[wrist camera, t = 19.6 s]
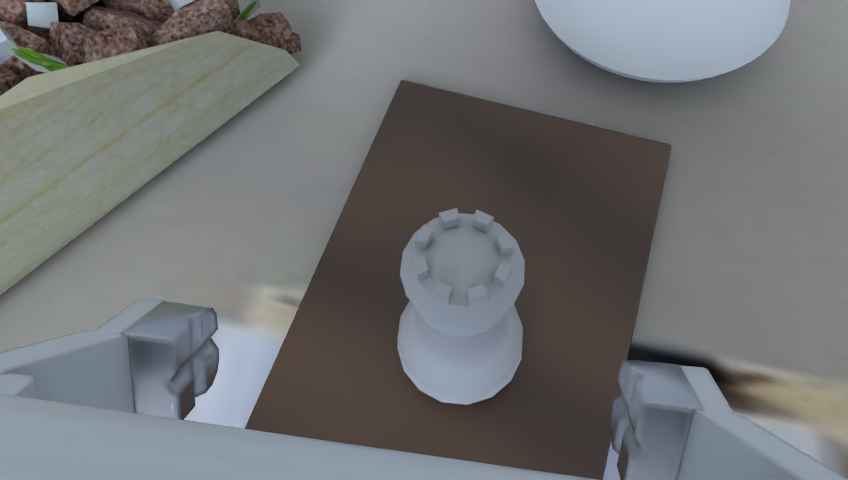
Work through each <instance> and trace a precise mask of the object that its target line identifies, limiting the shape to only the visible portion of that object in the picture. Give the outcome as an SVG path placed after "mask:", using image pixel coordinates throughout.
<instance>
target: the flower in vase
mask: <svg viewBox="0 0 848 480" xmlns="http://www.w3.org/2000/svg"><path fill="white" fill-rule="evenodd" d="M535 2H536V5H537V7H538V9H539V11H540V13H541V15H542V17H543V18H544V20H545V21H546V23H547V24H548V26H549V27H550V28H551V30H552V31H553V32H554V33H555V35H556V36H557V37H558V38H559V39H560V40H561V41H562V42H563V43H564V44H565V45H566V46H567V47H568V48H569V49H571V50H572V51H573V52H574V53H576V54H577V55H578V56H580V57H581V58H583V59H584V60H586V61H588V62H590V63H591V64H593V65H595V66H597V67H599V68H601V69H604V70H606V71H609V72H611V73H614V74H617V75H620V76H624V77H627V78H631V79H636V80H641V81H647V82H658V83H683V82H691V81H699V80H703V79H707V78H712V77H715V76H718V75H721V74H724V73H727V72H729V71H732V70H735V69H738V68H740V67H742V66H744V65H746V64H747V63H749V62H751V61H753V60H754V59H756V58H757V57H759V56H760V55H761V54H763V53H764V52H765V51H766V50H767V49H768V48H769V47H770V46H771V45H772V44H773V43H774V42H775V41H776V39H777V38H778V36H779V35H780V34H781V32H782V30H783V28H784V26H785V24H786V22H787V18H788V14H789V10H790V3H791V0H535Z"/></svg>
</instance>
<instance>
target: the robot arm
mask: <svg viewBox="0 0 848 480" xmlns="http://www.w3.org/2000/svg"><path fill="white" fill-rule="evenodd" d="M217 329H218V325H217V314H216V312H215V311H214V309H213V308H210V307H203V306H196V305H189V304H182V303H175V302H166V301H165V300H154V299H141V298H139V299H138V300H136V301H135V302H134V303H132V304H131V305H129V306H128V307H127V308H125V309H124V310H123V311H121V312H120V313H118V314H117V315H116V316H114V317H113V318H112V319H110V320H109V321H107V322H106V323H105V324H103V325H102V326H100V327H99V328H98V329H96V330H95V331H91V330H85V331H81V332H78V333H74V334H70V335H66V336H62V337H58V338H55V339H51V340H47V341H43V342H39V343H35V344H32V345H28V346H24V347H20V348H16V349H12V350H8V351H5V352H1V353H0V480H597V479H590V478H583V477H576V476H569V475H562V474H555V473H548V472H541V471H534V470H527V469H520V468H513V467H506V466H499V465H492V464H485V463H478V462H471V461H464V460H457V459H451V458H444V457H437V456H430V455H423V454H416V453H409V452H402V451H395V450H388V449H381V448H374V447H367V446H360V445H353V444H346V443H339V442H333V441H326V440H319V439H312V438H305V437H298V436H291V435H284V434H277V433H270V432H263V431H256V430H249V429H242V428H235V427H228V426H222V425H215V424H208V423H201V422H194V421H187V420H184V418H185V417H186V416H187V415H188V414H189V412H190V411H191V410H192V409H193V408H194V406H195V397H197V396H199V395H202V394H204V393H206V392H207V391H208V389H209V388H210V387H211V385H212V384H213V381H214V379H215V376H216V373H217V370H218V362H219V348H218V347H217V346H216V344H215V343H214V341H213V340H212V339H211V337H212V336H213V334H214V333H215V332H216V330H217ZM618 383H619V387H620V390H621V394H620V395H619V396H618V397H617V398H616V399H614V400H613V406H612V412H611V422H610V435H611V442H612V447H613V450H615V451H616V452H617V453H618V454H619V458H618V463H617V467H618V471H619V475H620V479H621V480H848V479H846V478H845V477H843V476H841V475H840V474H838V473H836V472H835V471H833V470H831V469H830V468H828V467H827V466H825V465H823V464H822V463H820V462H818V461H817V460H815V459H813V458H812V457H810V456H808V455H807V454H805V453H803V452H802V451H800V450H799V449H797V448H795V447H794V446H792V445H790V444H789V443H787V442H785V441H784V440H782V439H780V438H779V437H777V436H775V435H774V434H772V433H771V432H769V431H767V430H766V429H764V428H762V427H761V426H759V425H757V424H756V423H754V422H752V421H751V420H749V419H747V418H746V417H744V416H740V415H735V414H734V413H733V411H732V409H731V408H730V406H729V404H728V403H727V401H726V399H725V398H724V396H723V394H722V393H721V391H720V389H719V388H718V386H717V384H716V383H715V381H714V379H713V377H712V376H711V374H710V372H709V371H708V370H707V369H705V368H703V367H691V366H680V365H675V364H665V363H655V362H646V361H636V360H623V362H622V365H621V367H620V371H619V376H618Z"/></svg>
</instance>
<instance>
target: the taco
mask: <svg viewBox="0 0 848 480" xmlns="http://www.w3.org/2000/svg"><path fill="white" fill-rule="evenodd" d="M259 7H260V1H259V0H253V1H252V2H251V3H250V4H249V5H248V6H247V7H246V8H245V9H244V10H243V12H242V13H241V14H240V10H239V5H238V0H0V295H1V294H2V293H4V292H5V291H6V290H8V289H9V288H10V287H12V286H13V285H14V284H15V283H17V282H18V281H19V280H21V279H22V278H23V277H25V276H26V275H27V274H29V273H30V272H31V271H32V270H34V269H35V268H36V267H38V266H39V265H40V264H42V263H43V262H44V261H45V260H47V259H48V258H49V257H51V256H52V255H53V254H55V253H56V252H57V251H59V250H60V249H61V248H62V247H64V246H65V245H66V244H68V243H69V242H70V241H72V240H73V239H74V238H75V237H77V236H78V235H79V234H81V233H82V232H83V231H85V230H86V229H87V228H89V227H90V226H91V225H92V224H94V223H95V222H96V221H98V220H99V219H100V218H102V217H103V216H104V215H105V214H107V213H108V212H109V211H111V210H112V209H113V208H115V207H116V206H117V205H119V204H120V203H121V202H122V201H124V200H125V199H126V198H128V197H129V196H130V195H132V194H133V193H134V192H135V191H137V190H138V189H139V188H141V187H142V186H143V185H145V184H146V183H147V182H149V181H150V180H151V179H152V178H154V177H155V176H156V175H158V174H159V173H160V172H162V171H163V170H164V169H165V168H167V167H168V166H169V165H171V164H172V163H173V162H175V161H176V160H177V159H179V158H180V157H181V156H182V155H184V154H185V153H186V152H188V151H189V150H190V149H192V148H193V147H194V146H195V145H197V144H198V143H199V142H201V141H202V140H203V139H205V138H206V137H207V136H208V135H210V134H211V133H212V132H214V131H215V130H216V129H218V128H219V127H220V126H222V125H223V124H224V123H225V122H227V121H228V120H229V119H231V118H232V117H233V116H235V115H236V114H237V113H238V112H240V111H241V110H242V109H244V108H245V107H246V106H248V105H249V104H250V103H252V102H253V101H254V100H255V99H257V98H258V97H259V96H261V95H262V94H263V93H265V92H266V91H267V90H268V89H270V88H271V87H272V86H274V85H275V84H276V83H278V82H279V81H280V80H282V79H283V78H284V77H285V76H287V75H288V74H289V73H291V72H292V71H293V70H295V69H296V68H297V67H298V66H300V64H299V63H298V62H297V61H296V60H295V59H294V58H293V57H292V56H291V55H290V54H293V53H296V52H299V51H301V45H300V38H299V35H297V34H295V33H293V32H291V30H292V27H291V25H290V24H289V23H288V22H287V20H286V19H285V18H284V16H283V15H282V14H281V13H268V14H259V15H258V16H256V17H254V18H252V19H250V20H249V21H247V18H248V17H249V16H250V15H251V14H252V13H253V12H254V11H256V10H257V9H258V8H259Z"/></svg>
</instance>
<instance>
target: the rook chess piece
mask: <svg viewBox="0 0 848 480" xmlns="http://www.w3.org/2000/svg"><path fill="white" fill-rule="evenodd" d="M493 219H494V217H493V216H490V215H488V214H486V213H484V212H481V211H479V210H477V209H476V212H475V214H463V213H458V210H457V208H455V209H451V210H448V211H444V212H440V213H439V218H435V219H433V220H431V221H430V222H428V223H427V224H426V225H425V224H423V226H422V228H420V229H419V230H418V231H416V232H415V233H414V234H413V236H412V238H411V239H410V241H409V243H408V244H407V246H406V247H405V249H404V251H403V254H402V262H401V269H400V276H401V279H402V283H403V286H404V289H405V293H406V296H407V297H408V298H409V300H410V301H409V303H408V304H407V306H406V308H405V309H404V311H403V313H402V315H401V316H400V323H399V331H398V338H397V341H398V346H397V348H398V352H399V355H400V359H401V362H402V366H403V369H404V372H405V373H406V374H407V375H408V376H409V378H410V379H411V380H412V381H413V383H414V384H415V385H416V386H417V388H418V389H419V390H420V391H422V392H424V393H426V394H428V395H429V396H431V397H433V398H435V399H437V400H439V401H441V402H445V403H455V404H465V405H468V404H471V403H475V402H478V401H481V400H484V399H488V398H491V397H493V396H494V395H495V394H496V393H497V392H499V391H500V390H501V389H502V388H503V387H504V386H506V385H507V384H508V383H509V382H510V381H511V380H512V378H513V376H514V373H515V371H516V369H517V367H518V365H519V363H520V361H521V359H522V340H523V326H522V324H521V321H520V318H519V316H518V313H517V310H516V308H515V305H514V303H515V301H516V299H517V297H518V295H519V293H520V291H521V289H522V287H523V285H524V270H525V261H524V258H523V256H522V253H521V251H520V248H519V246H518V243H517V241H516V240H515V239H514V238H513V237H512V236H511V235H510V234H509V233H508V232H507V231H506V230H505V229H504V228H503V227H502V226H501V225H500V224H498V223H496V222H494V221H493Z"/></svg>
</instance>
